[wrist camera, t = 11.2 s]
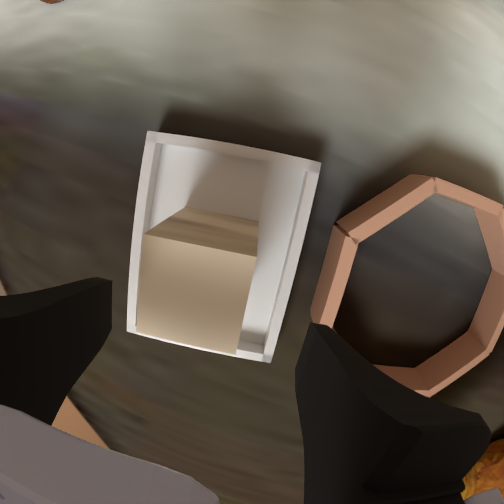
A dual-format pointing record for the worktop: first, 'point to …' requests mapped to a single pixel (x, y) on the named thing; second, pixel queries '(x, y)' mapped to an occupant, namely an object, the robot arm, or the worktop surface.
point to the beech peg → (197, 278)
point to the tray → (233, 204)
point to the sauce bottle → (51, 1)
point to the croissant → (486, 471)
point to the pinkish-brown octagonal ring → (379, 215)
